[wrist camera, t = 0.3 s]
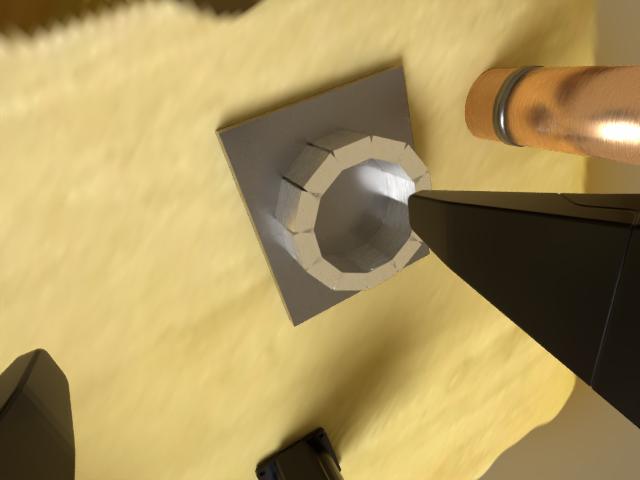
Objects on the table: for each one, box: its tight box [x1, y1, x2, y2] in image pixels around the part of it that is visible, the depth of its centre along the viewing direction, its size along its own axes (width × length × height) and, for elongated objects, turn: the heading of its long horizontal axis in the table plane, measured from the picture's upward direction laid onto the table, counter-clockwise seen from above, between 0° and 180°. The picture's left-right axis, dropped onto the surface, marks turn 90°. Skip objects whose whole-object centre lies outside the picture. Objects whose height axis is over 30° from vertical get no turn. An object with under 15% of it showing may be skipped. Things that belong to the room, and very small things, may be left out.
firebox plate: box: [215, 66, 432, 327], centre depth 25 cm, size 14×12×4 cm
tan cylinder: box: [465, 65, 640, 165], centre depth 24 cm, size 5×5×12 cm
